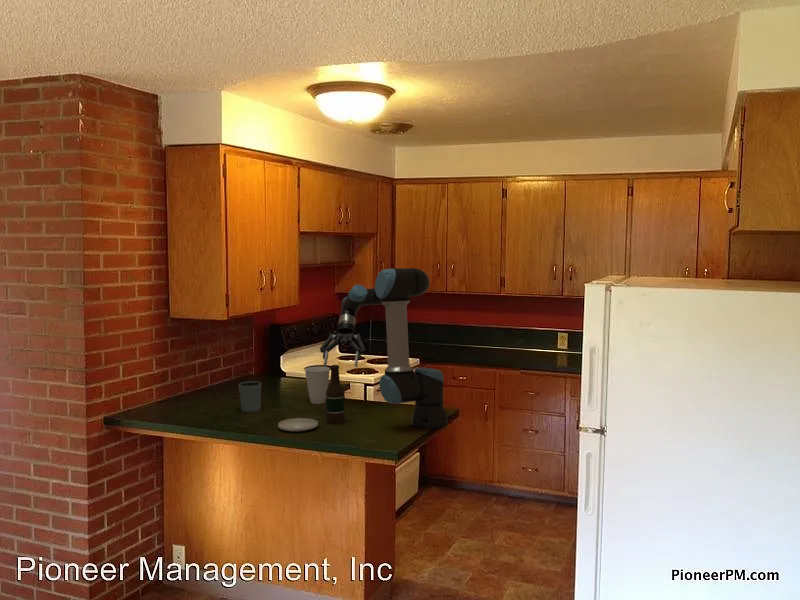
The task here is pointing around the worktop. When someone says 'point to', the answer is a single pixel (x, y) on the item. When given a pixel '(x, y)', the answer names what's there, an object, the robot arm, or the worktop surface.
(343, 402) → the beer bottle
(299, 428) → the dish
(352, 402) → the worktop surface
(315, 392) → the cup
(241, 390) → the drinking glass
